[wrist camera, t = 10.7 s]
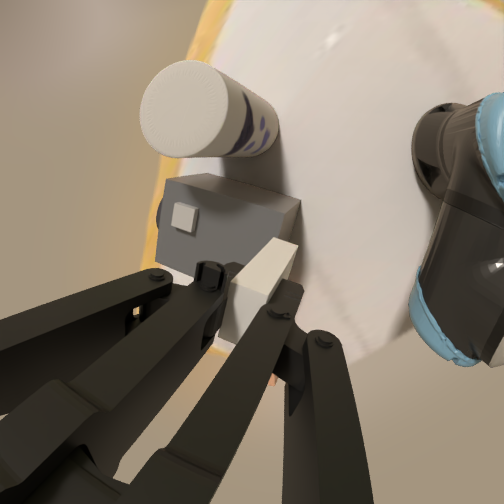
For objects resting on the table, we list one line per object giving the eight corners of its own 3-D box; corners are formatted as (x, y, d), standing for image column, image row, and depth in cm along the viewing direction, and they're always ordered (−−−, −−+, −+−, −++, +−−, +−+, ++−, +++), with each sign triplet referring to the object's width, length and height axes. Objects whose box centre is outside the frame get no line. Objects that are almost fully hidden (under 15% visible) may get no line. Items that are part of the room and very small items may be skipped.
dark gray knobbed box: (301, 200, 44) (282, 215, 32) (280, 270, 48) (256, 306, 36) (194, 169, 48) (146, 175, 36) (182, 235, 52) (137, 257, 40)
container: (270, 163, 43) (213, 167, 25) (212, 149, 46) (131, 149, 28) (285, 102, 40) (238, 62, 22) (225, 92, 42) (150, 59, 24)
